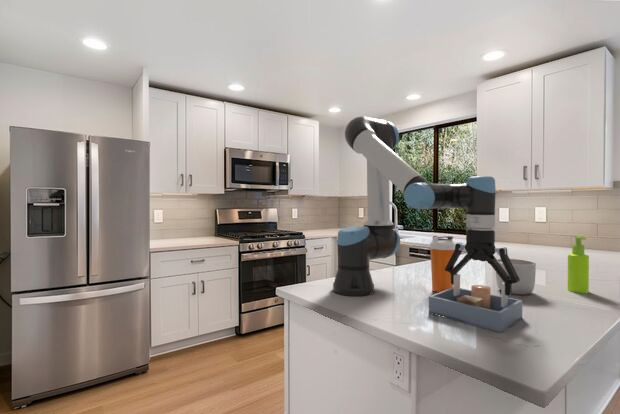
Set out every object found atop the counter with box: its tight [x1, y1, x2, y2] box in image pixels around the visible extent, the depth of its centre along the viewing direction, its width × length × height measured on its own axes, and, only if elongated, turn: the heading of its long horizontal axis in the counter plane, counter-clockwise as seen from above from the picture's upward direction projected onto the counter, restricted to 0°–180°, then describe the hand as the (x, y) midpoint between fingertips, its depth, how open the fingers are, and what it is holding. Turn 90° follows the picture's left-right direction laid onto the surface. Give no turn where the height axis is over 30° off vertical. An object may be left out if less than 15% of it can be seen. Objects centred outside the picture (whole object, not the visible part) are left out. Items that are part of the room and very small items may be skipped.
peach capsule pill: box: [470, 284, 491, 309], centre depth 98 cm, size 5×5×7 cm
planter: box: [495, 258, 537, 295], centre depth 120 cm, size 12×12×11 cm
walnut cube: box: [457, 295, 483, 308], centre depth 93 cm, size 5×5×5 cm
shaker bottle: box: [429, 235, 457, 293], centre depth 122 cm, size 9×9×20 cm
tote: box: [428, 286, 523, 334], centre depth 96 cm, size 20×16×5 cm
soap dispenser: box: [567, 235, 590, 294], centre depth 119 cm, size 6×7×20 cm
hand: (479, 300), depth 98 cm, fingers open, 13 cm apart
